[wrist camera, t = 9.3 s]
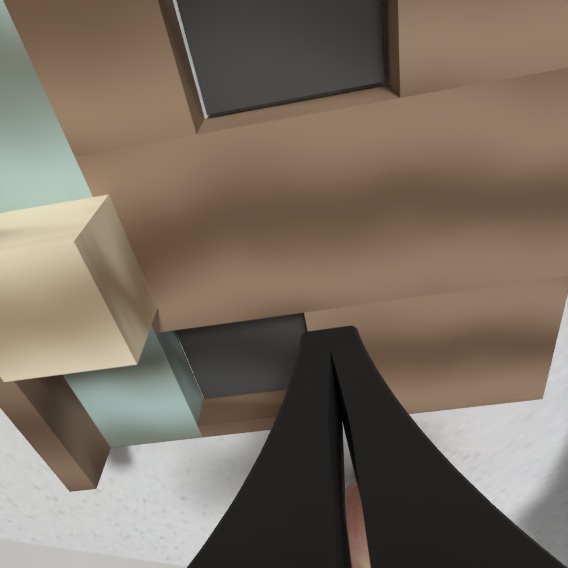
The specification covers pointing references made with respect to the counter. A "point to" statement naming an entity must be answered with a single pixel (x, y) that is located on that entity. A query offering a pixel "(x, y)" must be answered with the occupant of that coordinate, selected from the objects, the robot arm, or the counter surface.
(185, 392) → the board
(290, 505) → the robot arm
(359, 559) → the apple
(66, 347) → the beech block
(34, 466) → the counter surface
